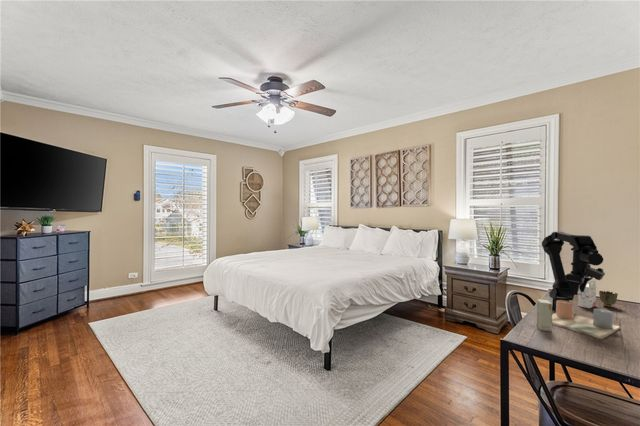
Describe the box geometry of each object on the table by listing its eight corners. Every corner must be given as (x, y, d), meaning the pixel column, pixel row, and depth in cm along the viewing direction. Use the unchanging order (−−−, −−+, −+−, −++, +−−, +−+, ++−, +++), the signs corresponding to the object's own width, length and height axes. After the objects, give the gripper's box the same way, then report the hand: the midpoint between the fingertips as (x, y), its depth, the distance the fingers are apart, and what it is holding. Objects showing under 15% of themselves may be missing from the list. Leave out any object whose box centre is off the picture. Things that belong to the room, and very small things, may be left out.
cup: (594, 304, 167) (595, 290, 167) (606, 304, 168) (607, 290, 167) (608, 308, 159) (609, 294, 159) (621, 308, 160) (621, 294, 160)
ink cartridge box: (584, 303, 168) (585, 278, 167) (595, 306, 163) (596, 280, 163) (577, 305, 164) (578, 279, 163) (588, 308, 159) (589, 281, 159)
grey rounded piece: (590, 325, 134) (591, 309, 133) (595, 322, 137) (596, 307, 137) (609, 330, 128) (610, 314, 128) (614, 327, 131) (615, 312, 131)
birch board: (540, 320, 140) (540, 318, 140) (560, 313, 152) (560, 310, 151) (602, 339, 121) (602, 336, 121) (620, 328, 133) (620, 326, 133)
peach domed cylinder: (553, 315, 146) (554, 301, 145) (559, 312, 149) (560, 299, 149) (569, 319, 140) (570, 304, 140) (575, 317, 143) (575, 302, 143)
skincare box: (552, 332, 128) (553, 304, 127) (539, 330, 129) (540, 302, 129) (547, 326, 133) (548, 300, 133) (536, 325, 135) (537, 298, 135)
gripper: (596, 266, 129) (595, 301, 130) (608, 262, 140) (607, 294, 140) (565, 262, 139) (563, 294, 139) (578, 258, 149) (577, 288, 149)
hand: (578, 293), depth 142 cm, fingers open, 9 cm apart
